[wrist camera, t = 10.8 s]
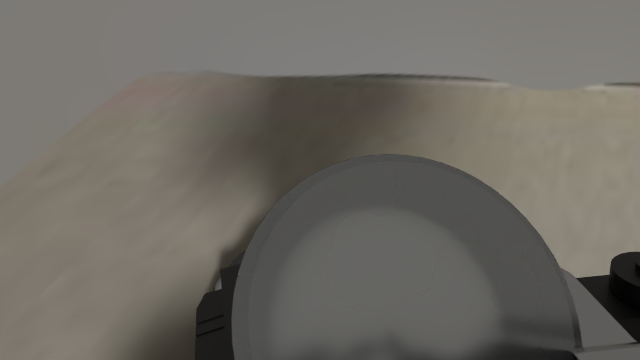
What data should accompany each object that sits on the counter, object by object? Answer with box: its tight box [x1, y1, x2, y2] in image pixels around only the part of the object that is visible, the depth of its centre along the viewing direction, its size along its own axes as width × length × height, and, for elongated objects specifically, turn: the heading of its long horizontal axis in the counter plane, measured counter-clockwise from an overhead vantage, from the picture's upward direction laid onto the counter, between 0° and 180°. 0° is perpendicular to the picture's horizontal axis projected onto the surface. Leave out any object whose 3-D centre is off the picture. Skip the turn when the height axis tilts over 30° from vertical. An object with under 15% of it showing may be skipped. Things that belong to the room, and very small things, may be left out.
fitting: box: [231, 154, 583, 360], centre depth 10 cm, size 5×5×10 cm
